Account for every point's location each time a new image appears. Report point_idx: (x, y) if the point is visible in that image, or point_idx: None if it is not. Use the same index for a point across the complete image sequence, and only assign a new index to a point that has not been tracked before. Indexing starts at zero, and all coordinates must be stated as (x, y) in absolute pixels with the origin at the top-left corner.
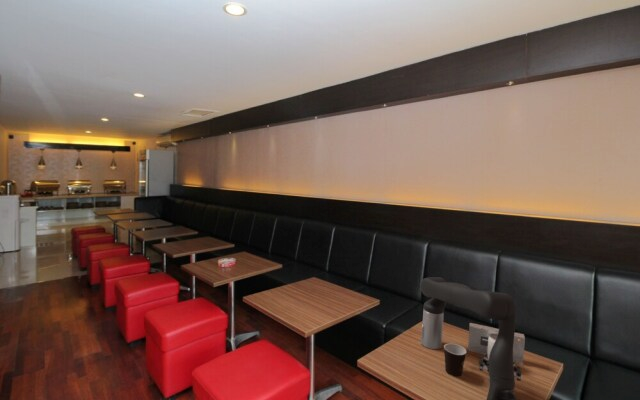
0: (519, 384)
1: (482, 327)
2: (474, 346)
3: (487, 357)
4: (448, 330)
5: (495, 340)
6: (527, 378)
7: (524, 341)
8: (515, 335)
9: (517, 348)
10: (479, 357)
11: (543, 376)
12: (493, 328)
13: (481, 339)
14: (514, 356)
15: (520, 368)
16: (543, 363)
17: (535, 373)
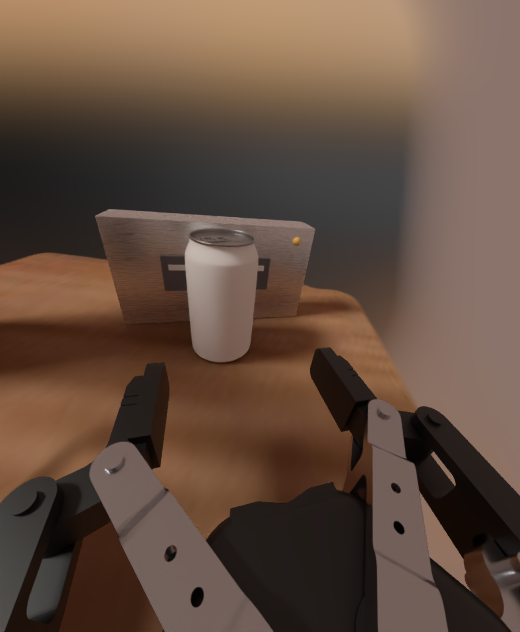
0: (336, 432)
1: (162, 216)
2: (145, 303)
3: (150, 422)
4: (86, 271)
5: (217, 251)
6: None
7: (311, 241)
8: (284, 225)
9: (287, 272)
10: (4, 512)
11: (358, 337)
12: (207, 216)
13: (165, 269)
14: (276, 300)
15: (459, 432)
16: (328, 296)
17: (337, 335)
